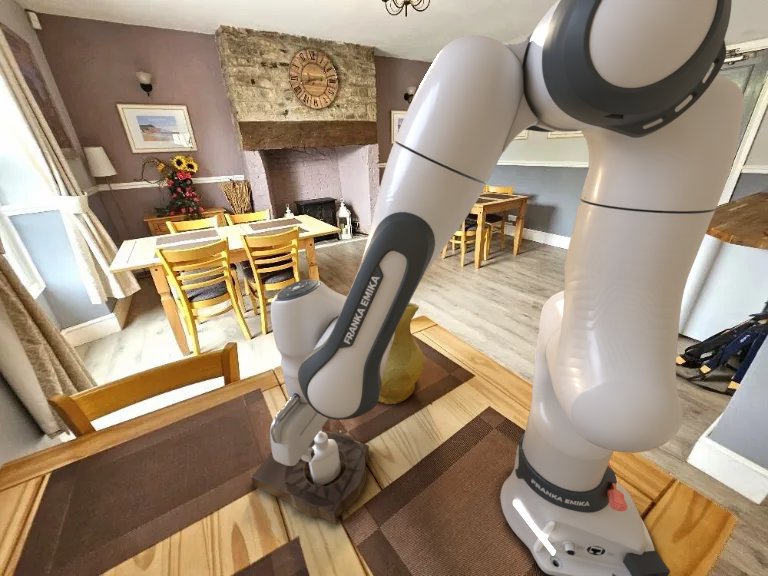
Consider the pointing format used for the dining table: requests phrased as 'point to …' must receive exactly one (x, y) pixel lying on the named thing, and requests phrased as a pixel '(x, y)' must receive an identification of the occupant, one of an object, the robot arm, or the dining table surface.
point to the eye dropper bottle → (324, 460)
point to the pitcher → (402, 362)
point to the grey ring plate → (309, 497)
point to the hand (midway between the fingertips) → (323, 435)
